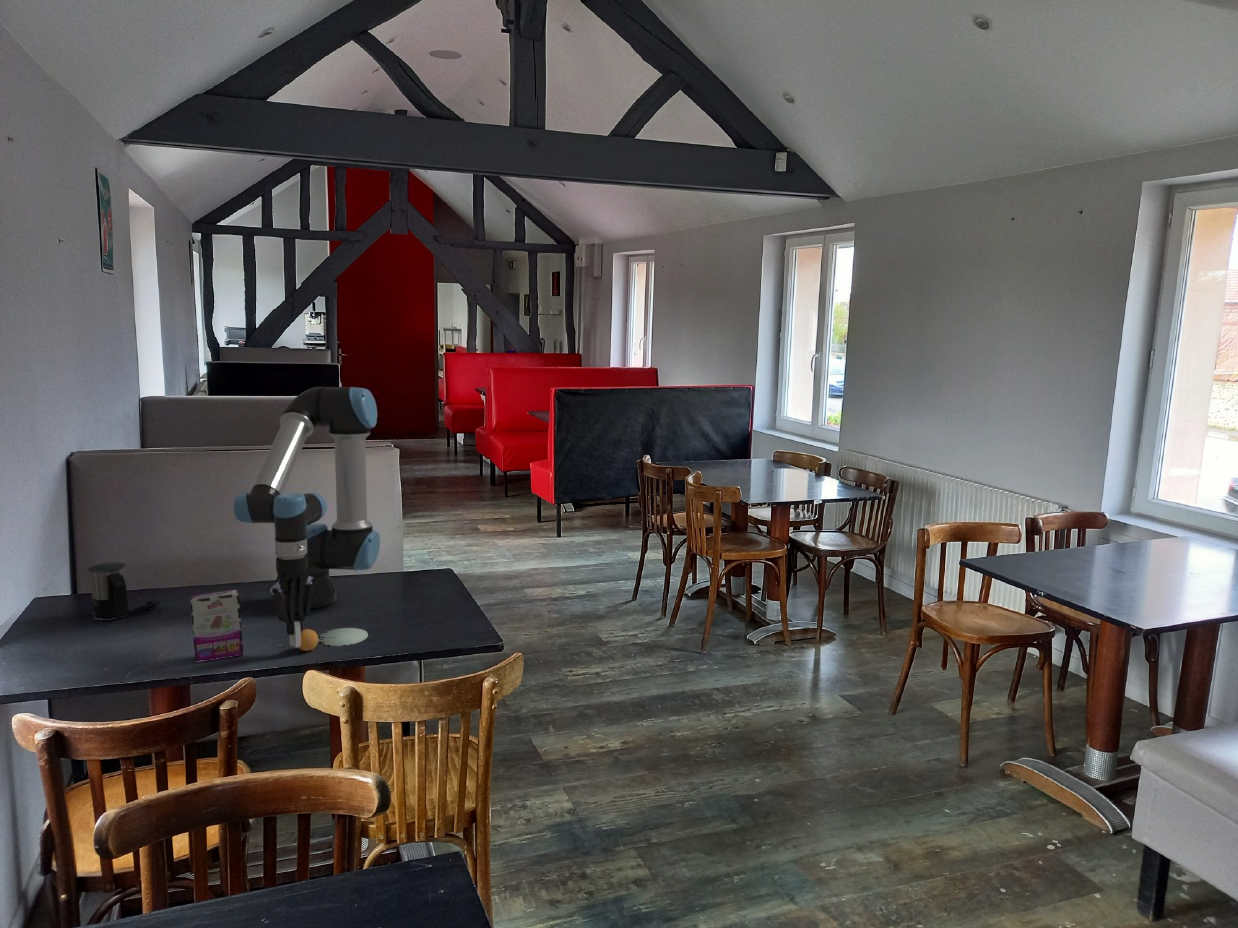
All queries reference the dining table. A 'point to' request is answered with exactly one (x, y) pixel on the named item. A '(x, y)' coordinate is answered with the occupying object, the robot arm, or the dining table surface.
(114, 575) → the milk frother
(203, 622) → the candy bar box
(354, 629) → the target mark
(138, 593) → the dining table surface
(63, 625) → the dining table surface
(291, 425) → the robot arm
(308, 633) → the ball
